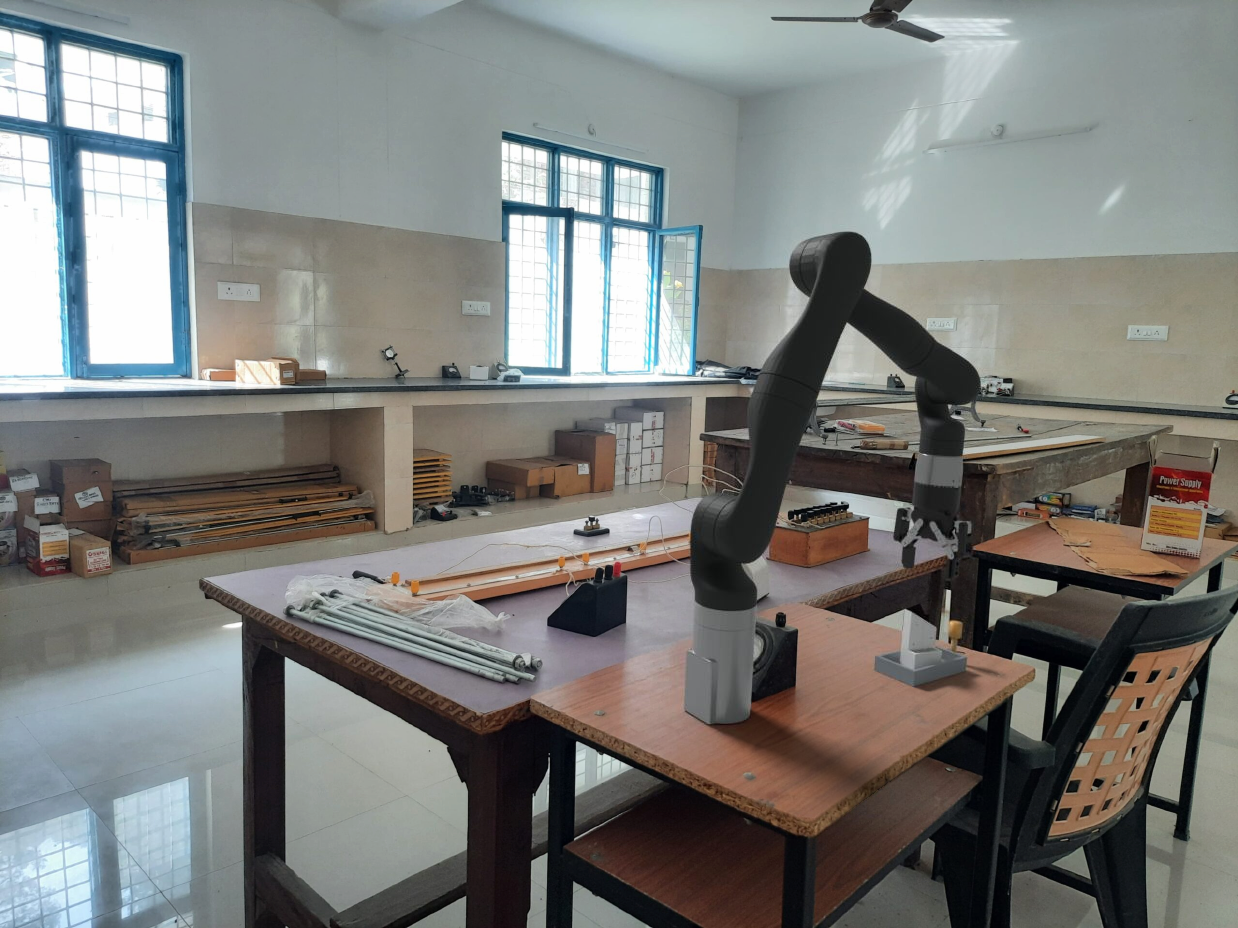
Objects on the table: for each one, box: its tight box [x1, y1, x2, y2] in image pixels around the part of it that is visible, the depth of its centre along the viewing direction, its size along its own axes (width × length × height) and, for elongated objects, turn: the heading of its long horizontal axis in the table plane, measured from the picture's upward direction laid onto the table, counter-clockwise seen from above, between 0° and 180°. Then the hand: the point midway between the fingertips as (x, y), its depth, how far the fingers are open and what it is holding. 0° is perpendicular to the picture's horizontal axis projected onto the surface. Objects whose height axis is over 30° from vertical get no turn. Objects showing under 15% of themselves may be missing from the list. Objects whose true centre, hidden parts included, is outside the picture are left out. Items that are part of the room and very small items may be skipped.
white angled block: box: [900, 608, 942, 670], centre depth 150 cm, size 4×10×9 cm, turn 111°
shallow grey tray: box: [873, 620, 968, 687], centre depth 151 cm, size 17×8×7 cm, turn 123°
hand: (928, 573), depth 148 cm, fingers open, 8 cm apart
